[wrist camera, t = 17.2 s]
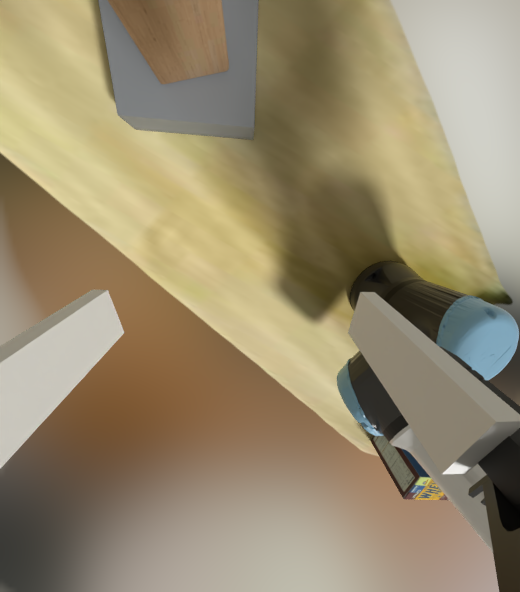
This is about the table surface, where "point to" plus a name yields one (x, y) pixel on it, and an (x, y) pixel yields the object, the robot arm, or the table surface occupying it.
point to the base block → (188, 81)
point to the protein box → (407, 472)
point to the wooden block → (177, 36)
